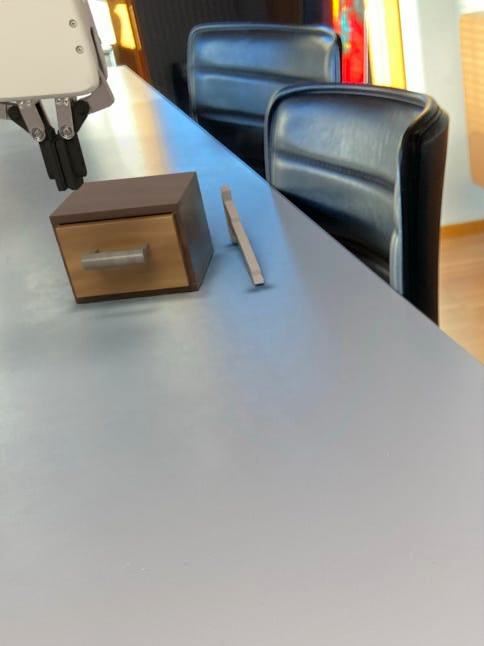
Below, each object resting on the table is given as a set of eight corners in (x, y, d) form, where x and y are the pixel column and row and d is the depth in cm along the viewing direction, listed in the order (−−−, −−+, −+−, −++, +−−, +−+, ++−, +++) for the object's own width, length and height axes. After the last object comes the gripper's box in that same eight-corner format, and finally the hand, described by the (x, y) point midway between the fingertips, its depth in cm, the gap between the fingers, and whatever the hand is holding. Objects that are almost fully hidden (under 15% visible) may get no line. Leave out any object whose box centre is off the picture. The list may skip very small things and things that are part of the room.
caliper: (229, 240, 120) (217, 183, 117) (239, 238, 121) (227, 182, 117) (255, 287, 105) (242, 224, 101) (265, 285, 105) (253, 222, 101)
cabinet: (198, 290, 105) (177, 203, 100) (76, 303, 105) (48, 216, 100) (214, 251, 117) (196, 171, 112) (104, 262, 116) (81, 182, 111)
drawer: (183, 299, 100) (165, 227, 96) (67, 311, 100) (44, 240, 96) (204, 249, 115) (189, 185, 110) (103, 260, 114) (84, 195, 110)
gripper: (108, -76, 81) (163, 170, 92) (-83, -63, 81) (-4, 184, 92) (89, -73, 75) (151, 190, 86) (-117, -59, 75) (-28, 205, 86)
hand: (71, 186), depth 89 cm, fingers closed
